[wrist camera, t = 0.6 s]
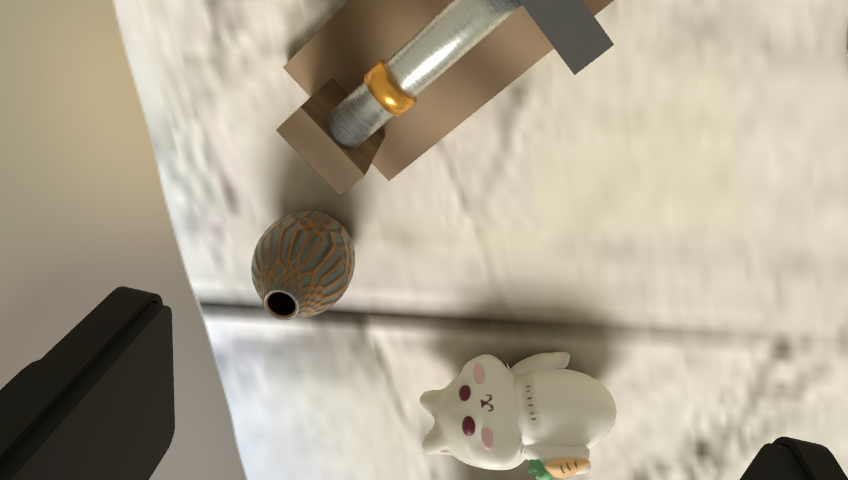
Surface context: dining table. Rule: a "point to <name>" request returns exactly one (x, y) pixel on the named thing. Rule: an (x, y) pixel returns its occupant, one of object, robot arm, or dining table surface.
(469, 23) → the pipe
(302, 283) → the vase
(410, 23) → the stand
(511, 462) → the cat figurine
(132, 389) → the robot arm
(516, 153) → the dining table surface
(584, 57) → the collar
